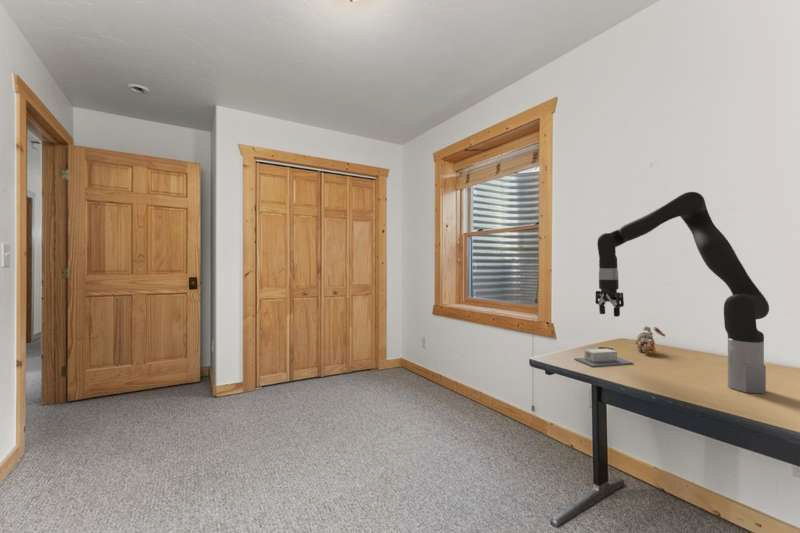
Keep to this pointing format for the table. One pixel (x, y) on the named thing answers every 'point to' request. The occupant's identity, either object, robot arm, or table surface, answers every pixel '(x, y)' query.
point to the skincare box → (600, 355)
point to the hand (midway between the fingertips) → (609, 315)
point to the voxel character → (647, 340)
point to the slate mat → (603, 362)
